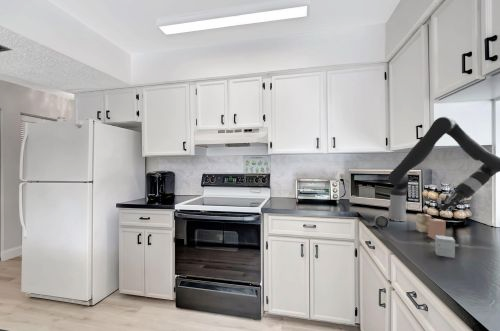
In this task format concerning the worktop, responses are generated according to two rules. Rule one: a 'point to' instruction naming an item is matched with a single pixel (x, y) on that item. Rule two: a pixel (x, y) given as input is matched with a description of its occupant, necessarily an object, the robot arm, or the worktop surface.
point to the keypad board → (434, 243)
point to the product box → (445, 246)
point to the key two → (436, 228)
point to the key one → (422, 222)
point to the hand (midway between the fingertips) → (441, 209)
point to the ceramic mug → (380, 221)
